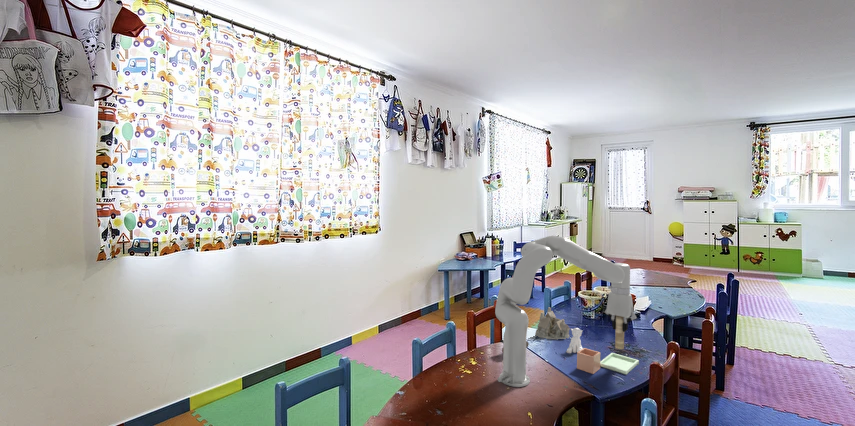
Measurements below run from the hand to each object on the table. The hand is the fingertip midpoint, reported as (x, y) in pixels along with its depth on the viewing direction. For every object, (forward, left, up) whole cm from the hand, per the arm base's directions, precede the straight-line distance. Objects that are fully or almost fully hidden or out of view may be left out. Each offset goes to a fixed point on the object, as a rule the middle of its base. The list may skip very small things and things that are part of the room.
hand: (619, 329), depth 175 cm
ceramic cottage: (+13, +40, -17) cm, 46 cm away
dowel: (0, 0, -9) cm, 9 cm away
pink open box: (-14, +8, -17) cm, 24 cm away
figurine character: (-22, +42, -17) cm, 51 cm away
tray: (0, 0, -17) cm, 17 cm away
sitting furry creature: (+1, +21, -17) cm, 27 cm away
